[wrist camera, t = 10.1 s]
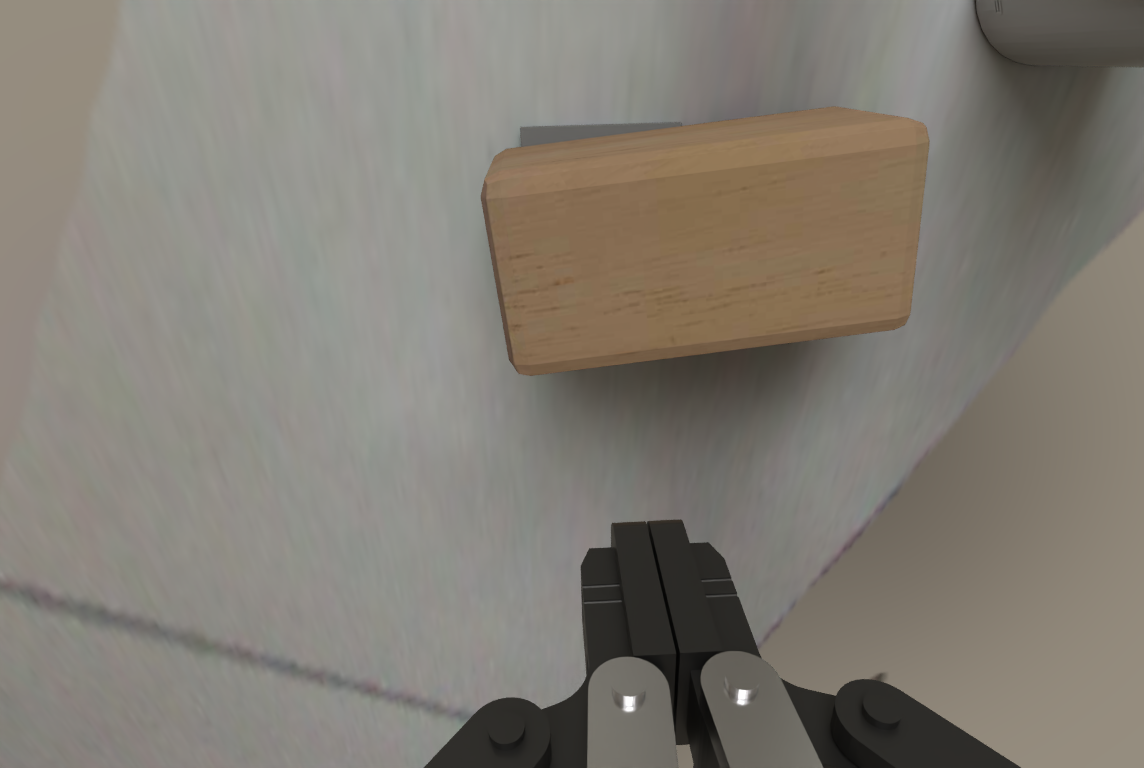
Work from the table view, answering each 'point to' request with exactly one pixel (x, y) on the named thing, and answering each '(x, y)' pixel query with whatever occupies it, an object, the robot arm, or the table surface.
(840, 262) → the block
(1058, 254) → the table surface
